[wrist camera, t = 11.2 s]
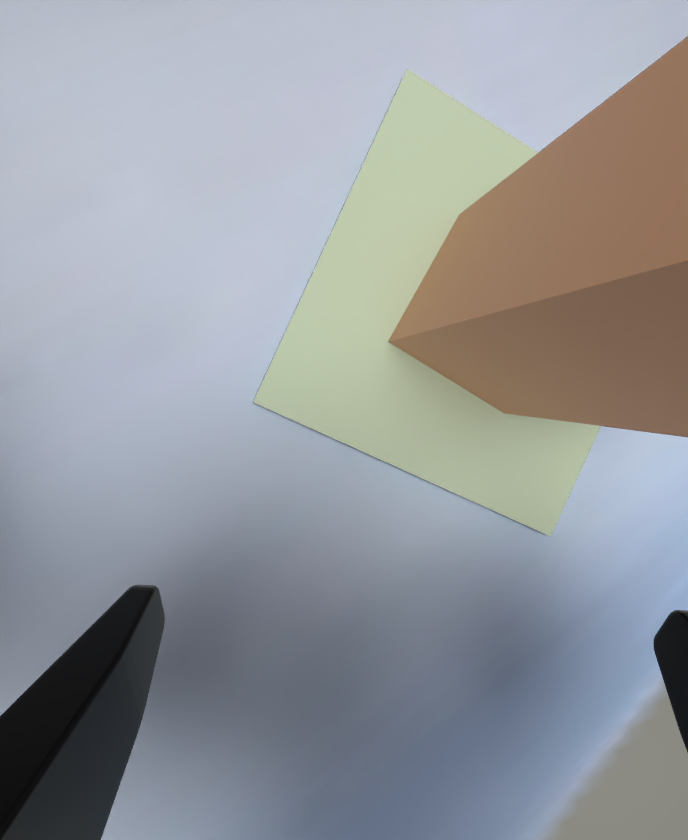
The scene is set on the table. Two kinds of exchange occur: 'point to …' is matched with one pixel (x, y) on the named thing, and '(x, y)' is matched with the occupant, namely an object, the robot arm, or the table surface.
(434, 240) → the mat
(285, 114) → the table surface
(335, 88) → the table surface
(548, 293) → the block
